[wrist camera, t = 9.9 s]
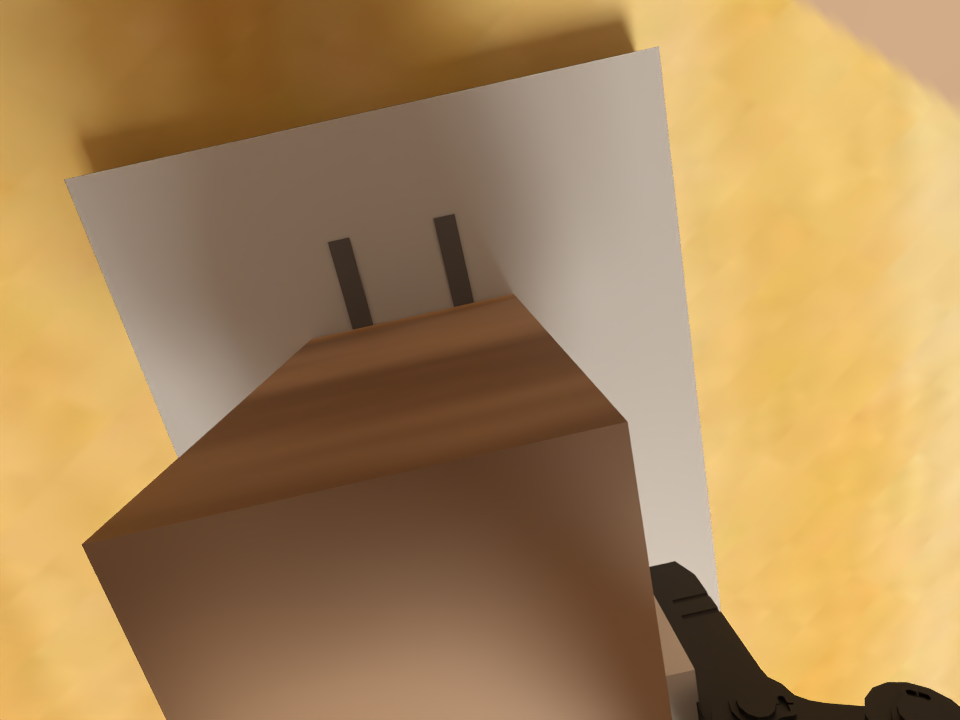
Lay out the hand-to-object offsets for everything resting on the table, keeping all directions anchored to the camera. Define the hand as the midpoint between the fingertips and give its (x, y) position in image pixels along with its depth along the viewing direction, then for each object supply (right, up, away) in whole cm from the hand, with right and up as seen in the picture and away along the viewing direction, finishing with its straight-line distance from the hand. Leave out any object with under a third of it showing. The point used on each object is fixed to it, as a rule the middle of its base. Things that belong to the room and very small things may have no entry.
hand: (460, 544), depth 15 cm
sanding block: (0, +1, +2) cm, 2 cm away
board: (-1, +3, +3) cm, 4 cm away
